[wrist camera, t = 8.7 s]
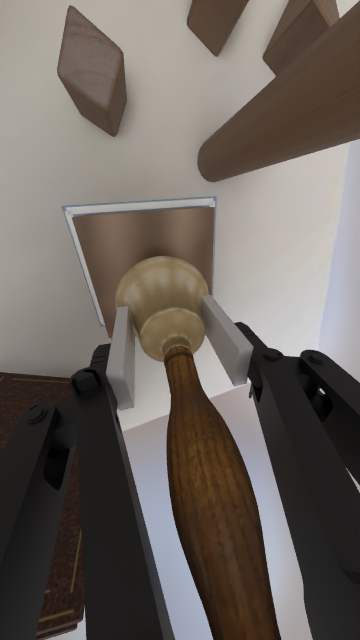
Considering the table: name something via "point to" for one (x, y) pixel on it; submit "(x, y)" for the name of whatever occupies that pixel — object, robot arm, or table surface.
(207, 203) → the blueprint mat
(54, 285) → the table surface
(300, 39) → the wooden blocks
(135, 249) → the walnut plinth
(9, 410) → the book
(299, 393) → the robot arm
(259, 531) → the hand bell
